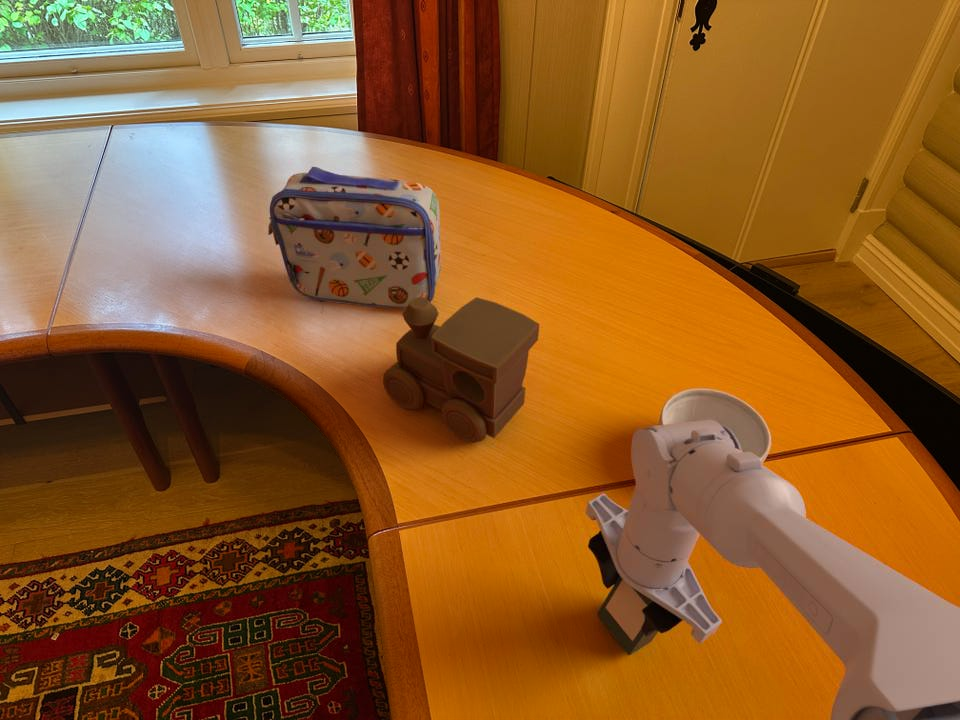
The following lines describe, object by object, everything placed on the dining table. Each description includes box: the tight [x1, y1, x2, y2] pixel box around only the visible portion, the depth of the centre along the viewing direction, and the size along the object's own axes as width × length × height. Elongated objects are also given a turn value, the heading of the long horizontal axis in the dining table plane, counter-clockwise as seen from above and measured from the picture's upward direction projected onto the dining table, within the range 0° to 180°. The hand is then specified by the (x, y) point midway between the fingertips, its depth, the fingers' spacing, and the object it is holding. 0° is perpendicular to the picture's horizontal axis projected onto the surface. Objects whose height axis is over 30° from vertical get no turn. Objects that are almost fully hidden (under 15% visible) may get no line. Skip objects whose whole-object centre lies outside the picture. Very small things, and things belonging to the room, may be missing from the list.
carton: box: [596, 576, 659, 656], centre depth 60 cm, size 9×5×4 cm
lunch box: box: [267, 166, 442, 310], centre depth 98 cm, size 28×10×22 cm, turn 82°
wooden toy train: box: [382, 296, 540, 444], centre depth 81 cm, size 20×11×17 cm, turn 55°
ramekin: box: [658, 387, 772, 464], centre depth 77 cm, size 13×13×7 cm
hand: (631, 604), depth 59 cm, fingers closed on carton, 5 cm apart
